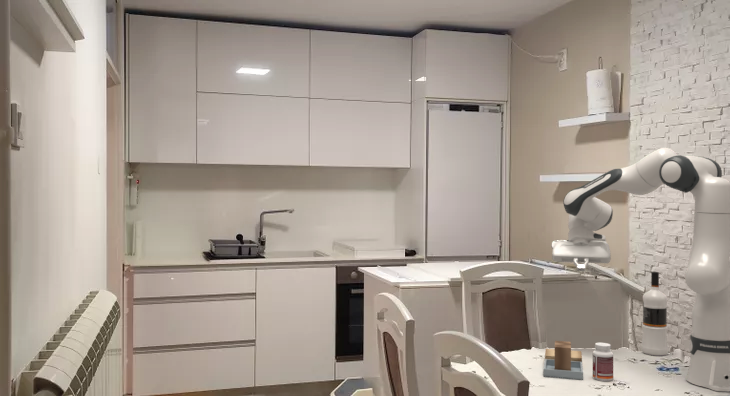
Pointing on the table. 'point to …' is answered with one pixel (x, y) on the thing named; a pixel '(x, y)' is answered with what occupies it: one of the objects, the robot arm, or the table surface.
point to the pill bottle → (602, 362)
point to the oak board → (574, 355)
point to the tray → (574, 374)
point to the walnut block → (562, 355)
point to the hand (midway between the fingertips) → (581, 270)
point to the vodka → (654, 320)
